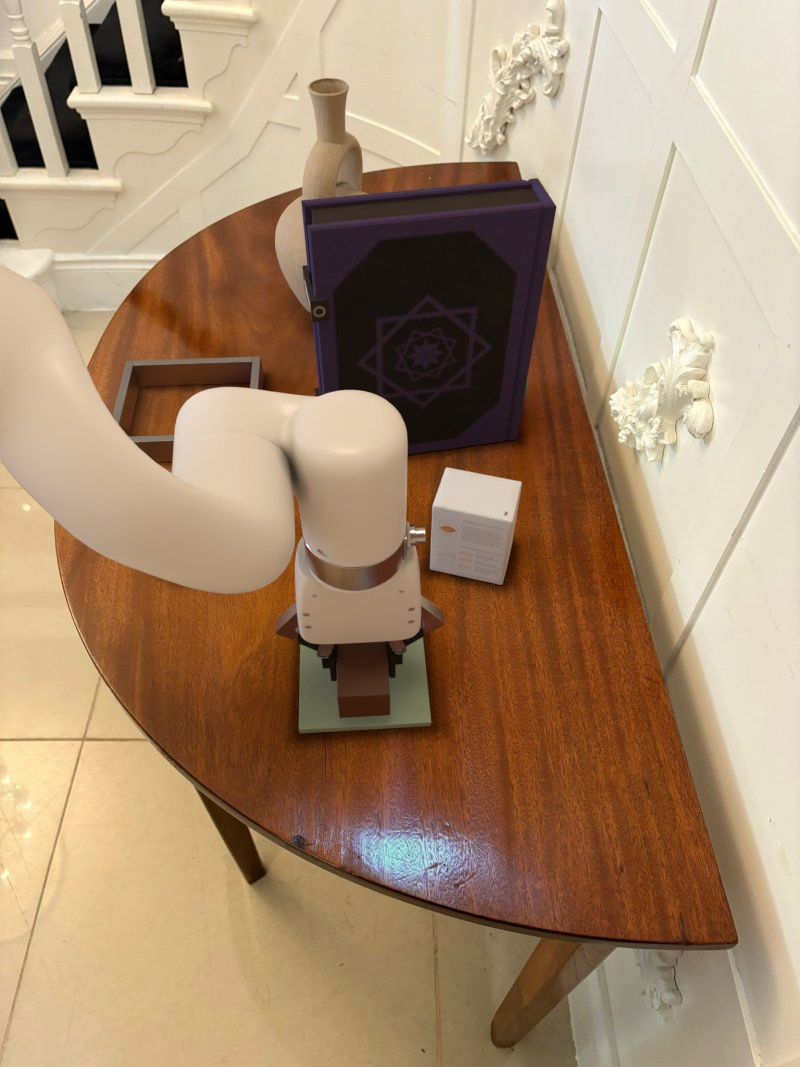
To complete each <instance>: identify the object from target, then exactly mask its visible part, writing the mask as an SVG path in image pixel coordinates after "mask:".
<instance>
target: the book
mask: <svg viewBox="0 0 800 1067" xmlns="http://www.w3.org/2000/svg"><path fill="white" fill-rule="evenodd" d="M301 204H302V214H303V225H304V236H305V246H306V257H307V265H304V266H302V269H303V279H304V287H305V292H306V296H307V301H308V305H309V310H310V313H309V314H310V318H311V322H312V330H313V338H314V339H313V340H314V352H315V362H316V372H317V383H318V387H314V396H315V397H318V396H321V395H324V394H327V393H330V392H334V391H341V390H359V391H365V392H369V393H373V394H375V395H378V396H380V397H382V398H384V399H385V400H387V401H388V402H389V403H390V404H392V405H393V406H394V407H395V408H396V409H397V411H398V412H399V413H400V415H401V417H402V419H403V421H404V423H405V426H406V430H407V440H408V455H416V454H422V453H423V454H424V453H430V452H437V451H445V450H452V449H458V448H459V449H460V448H465V447H473V446H474V447H475V446H480V445H487V444H494V443H495V444H496V443H501V442H505V441H515V440H518V436H519V435H518V434H519V430H520V424H521V417H522V411H523V406H524V402H525V401H524V400H525V397H524V395H525V389H526V383H527V377H528V378H529V371H530V365H531V359H532V353H533V347H534V340H535V336H536V330H537V324H538V317H539V313H540V312H539V311H540V308H541V307H540V306H541V300H542V295H543V289H544V282H545V278H546V277H545V276H546V271H547V265H548V259H549V253H550V248H551V243H552V242H551V241H552V235H553V230H554V224H555V218H556V212H557V205H556V203H555V201H554V200H553V199H552V197H551V196H550V195H549V193H548V191H547V190H546V188H545V186H544V185H543V184H542V182H541V181H540V179H539V178H538V177H536V178H529V179H528V180H526V179H512V180H502V181H494V182H493V181H492V182H482V183H481V182H480V183H471V184H462V185H461V184H460V185H450V186H449V185H448V186H441V187H440V186H439V187H430V188H429V187H428V188H418V189H408V190H397V191H386V192H385V191H384V192H376V193H367V194H364V195H353V196H343V197H332V198H321V199H311V200H301ZM525 396H526V395H525Z"/></svg>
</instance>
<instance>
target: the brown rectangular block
mask: <svg viewBox="0 0 800 1067" xmlns="http://www.w3.org/2000/svg"><path fill="white" fill-rule="evenodd" d="M337 700H338V708H339V717H340V718H348V717H366V716H383V715H390V684H389V668H388V658H387V643H386V641H381V642H364V643H344V644H337Z"/></svg>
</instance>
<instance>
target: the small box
mask: <svg viewBox="0 0 800 1067" xmlns="http://www.w3.org/2000/svg"><path fill="white" fill-rule="evenodd" d="M522 487H523V483H522V481H520V480H515V479H510V478H505V477H499V476H494V475H489V474H484V473H478V472H473V471H469V470H463V469H458V468H452V467H445V468H444V471H443V474H442V477H441V480H440V483H439V486H438V488H437V491H436V494H435V497H434V501H433V503H432V508H431V530H430V531H431V534H430V552H429V553H430V554H429V557H430V558H429V570H430V571H435V572H440V573H445V574H448V575H449V574H450V575H454V576H456V577H457V576H458V577H462V578H466V579H472V580H476V581H481V582H486V583H489V584H490V583H491V584H494V585H500V586H502V585H504V580H505V577H506V572H507V568H508V564H509V559H510V555H511V550H512V547H513V540H514V535H515V529H516V523H517V517H518V511H519V505H520V498H521V492H522Z"/></svg>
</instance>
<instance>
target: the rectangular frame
mask: <svg viewBox="0 0 800 1067" xmlns="http://www.w3.org/2000/svg"><path fill="white" fill-rule="evenodd" d="M121 376H122V377H121V381H120V386H119V389H118V393H117V396H116V400H115V404H114V408H113V412H112V416H113V418H114V419H115V420H116V422H117V423H118V424H119V426H120V427H121V428H122V430H123V431H124V432H125V433H126V435H127V436H128V437H129V438H130V439H131V440H132V441H133V442H134V443H135V444H136V445H137V446H138V447H139V448H140V449H141V450H142V451H143V452H144V453H145V454H147V455H148V456H149V457H150V458H151V459H152V460H153V461H155V462H156V463H173V447H174V434H162V435H161V434H160V435H159V434H156V435H131V436H130V433H131V428H132V424H133V419H134V414H135V409H136V405H137V401H138V396H139V392H140V389H141V388H145V387H146V388H147V387H175V386H200V385H204V386H205V385H227V384H249V388H251V389H258V390H264V382H265V375H264V370H263V363H262V357H261V356H259V355H258V356H229V357H228V356H227V357H202V358H200V357H199V358H173V359H172V358H171V359H167V358H166V359H141V360H140V359H139V360H126V361H125V364H124V368H123V372H122V375H121Z"/></svg>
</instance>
